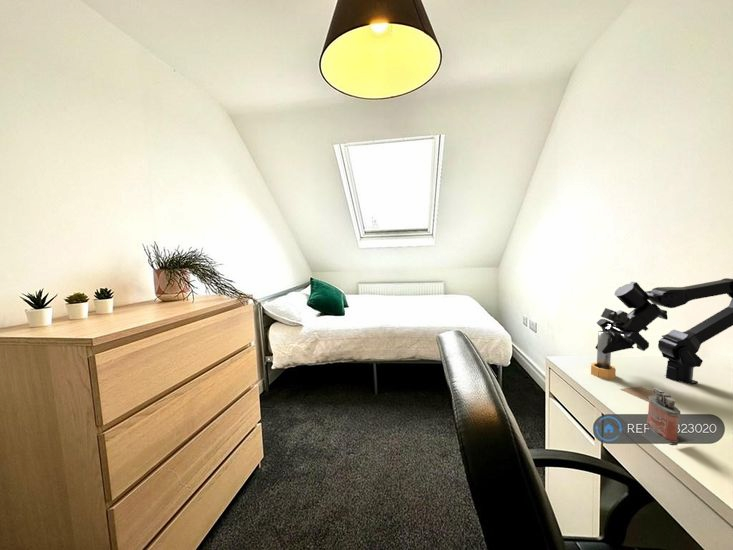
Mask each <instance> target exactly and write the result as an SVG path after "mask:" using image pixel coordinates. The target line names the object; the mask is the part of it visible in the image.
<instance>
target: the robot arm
mask: <svg viewBox="0 0 733 550" xmlns="http://www.w3.org/2000/svg"><path fill="white" fill-rule="evenodd" d="M721 295H722V296H723V295H727V296H728V297H729V298H731V300H730V302H729V304H728V305H727V306H726V307H725V308H723V309H722V310H720V311H718V312H716V313H715V314H713V315H711V316H709V317H708V318H706V319H704V320H703V321H701V322H699V323H697V324H696V325H694V326H693V327H691V328H689V329H687V330H686V331H679V330H677V329H672V330H670V331H669V332H668V333H667V334H662V335H661V338H660V339H659V340H658V344H657V347H658V350H659V351H660V352H661V355H662V357H663V358H665V359H668V360H667V365H666V373H665V375H664V376H665V378H666V379H668V380H671V381H673V382H681V383H685V384H688V385H695V384H698V383H699V381H697V380H695V379H693V378H694V377H693V376H694V368H696V367H698V368H699V367H701V366H702V364H703V362H704V361H703V359H702V358H701V357H700V356H699V355H698V354H697V353H698V352H699V350H700V349H701V345H702V344H703V343H705V342H707V341H708V340H710V339H712V338H714V337H715V336H718V335H719V334H720V333H723V332H724V331H725V330H727V329H730V328H732V327H733V278H728V277H726V278H722V279H719V280H714V281H709V282H704V283H703V282H702V283H698V284H697V283H696V284H692V285H687V286H686V285H685V286H659V287H654V288H652V289H651V290H647V291H645V290H644V289H643V288H642V287H641V285H640V284H639V283H638V282H637V281H636V282H635V281H631V282H629V283H628V284H624V285H622V286H620V287H618V288H617V289H616V290H615V291H614V296H615V297H616V298H617V299H618V300H619V301H620V302H621V303H623V305H625V306H626V307H627V308H628V309H633V310H631V311H630V312H629V313H628V312H626V311H623V310H620V309H619V310H618V311H615V310H613V309H610V308H606V307H605V308H604V310H603V312H602V314H601V315H600V317H601V318H600V319H599V320H598V321H597V322H596V324H597V325H598V326H599V327H600V328H601V329H602V331H608V332H611V333H612V341H611V342H610V343H609V344H608V345H607V346H606V347H605V348H604V349H603V350H602V352H603V353H604V354H607V353H611V354H612V353H614V352H618V351H623V350H629V349H635V347H634V346H635V345H636V348H637V349H638V350H640V351H642V352H645V351H646V350H647V349H648V348H649V347H650V342H649V341H648V340H647V339H646V338H645V337H644V336H643V335H641V333H640V332H641V331H642V330H643V331H645V332H647V331H648V330H649V328H648V327H647V326H648V325H650V324H651V323H653V321H655V320H656V319H658V318H660V319H662V320H668V314H667V313H668V311H667V310H666V309H662V308H660V307H663V308H667V309H674V308H678V307H681V306H684V305H686V304H688V303H689V302H691V301H693V300H698V299H699V300H700V299H704V298H711V297H716V296H721ZM659 306H660V307H659ZM597 348H598V343H597V344H596V346H595V349H596V350H597Z"/></svg>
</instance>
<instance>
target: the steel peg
mask: <svg viewBox="0 0 733 550" xmlns="http://www.w3.org/2000/svg"><path fill="white" fill-rule="evenodd" d="M611 341H612V333H611V332H608V331H603V330H598V331H597V344H598V348H597V349H596V350H597V351H596V363H597V367H598V368H602V369H610V365H611V360H612V359H611V358H612V352H611V353H607V354H604V353H603V352H602V350H603V349H604V348H605V347H606V346H607V345H608V344H609V343H610V342H611Z"/></svg>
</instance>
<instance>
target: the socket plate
mask: <svg viewBox="0 0 733 550" xmlns="http://www.w3.org/2000/svg"><path fill="white" fill-rule="evenodd" d="M590 364H591V365H590V375H593V376H594V377H597V378H601V379H607V380H610V379H611V380H612V379H616V370H617V369H616V366H613V365H611V364H610V369H602V368H598V367H597V362H591V363H590Z"/></svg>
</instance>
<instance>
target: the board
mask: <svg viewBox="0 0 733 550" xmlns="http://www.w3.org/2000/svg"><path fill="white" fill-rule="evenodd" d="M619 390H620V391H623V392H625V393H627V394H628V395H631V396H634V397H637V398H638V399H640V400H643V401H645V402H647V403H649V400H648V396H656V395H655V394H653V390H652V389H649V388H646V387H644V386H634V387H626V388H620V389H619Z"/></svg>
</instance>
